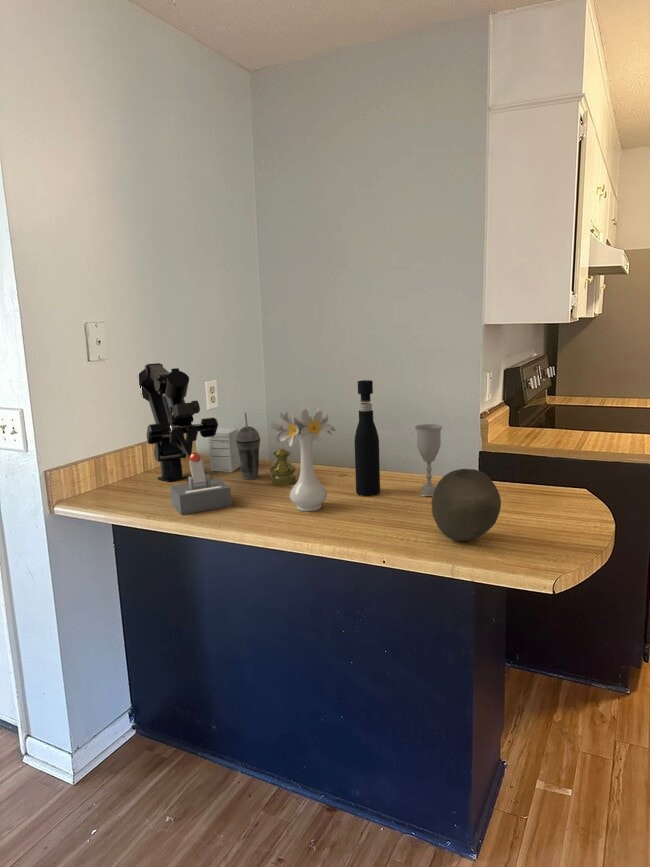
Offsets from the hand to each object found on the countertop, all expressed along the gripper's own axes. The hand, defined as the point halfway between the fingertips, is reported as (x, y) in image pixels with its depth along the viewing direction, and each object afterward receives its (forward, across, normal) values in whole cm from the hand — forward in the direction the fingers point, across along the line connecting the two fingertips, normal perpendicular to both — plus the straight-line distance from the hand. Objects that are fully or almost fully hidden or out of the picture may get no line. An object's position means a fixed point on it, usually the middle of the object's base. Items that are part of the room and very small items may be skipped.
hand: (189, 455), depth 167 cm
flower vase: (+26, +22, -9) cm, 35 cm away
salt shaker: (+8, +27, +9) cm, 29 cm away
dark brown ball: (+53, +41, -36) cm, 76 cm away
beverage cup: (0, +20, +16) cm, 26 cm away
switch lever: (+9, 0, -1) cm, 10 cm away
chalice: (+31, +54, -14) cm, 64 cm away
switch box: (+14, 0, +3) cm, 14 cm away
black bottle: (+24, +42, -7) cm, 49 cm away
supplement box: (-10, +18, +27) cm, 34 cm away
